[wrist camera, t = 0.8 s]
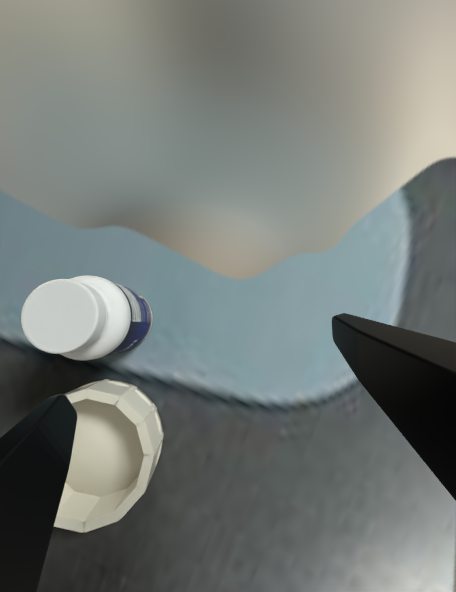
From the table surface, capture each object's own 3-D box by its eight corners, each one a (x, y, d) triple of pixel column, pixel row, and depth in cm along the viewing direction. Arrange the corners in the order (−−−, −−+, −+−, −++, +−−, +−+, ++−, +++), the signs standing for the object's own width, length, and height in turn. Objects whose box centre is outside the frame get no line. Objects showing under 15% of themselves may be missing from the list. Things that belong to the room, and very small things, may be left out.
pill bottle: (105, 360, 23) (26, 386, 14) (82, 304, 24) (-10, 290, 14) (163, 334, 24) (126, 341, 14) (139, 280, 24) (88, 249, 15)
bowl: (104, 525, 22) (83, 563, 18) (22, 442, 22) (-14, 464, 19) (186, 433, 23) (181, 453, 19) (106, 356, 23) (87, 361, 20)
